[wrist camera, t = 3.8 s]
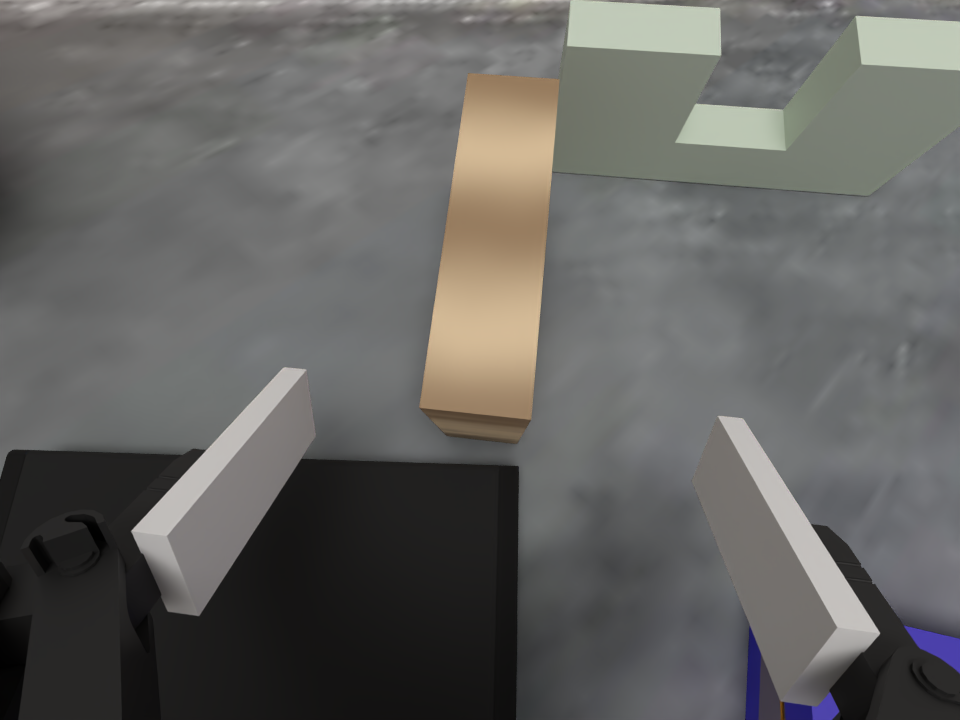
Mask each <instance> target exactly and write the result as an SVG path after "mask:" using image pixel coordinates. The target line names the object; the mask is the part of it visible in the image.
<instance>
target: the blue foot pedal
mask: <svg viewBox="0 0 960 720" xmlns="http://www.w3.org/2000/svg"><path fill="white" fill-rule="evenodd" d="M904 627H905V628H906V630H907V631H908V633H909V634H910V636H911V637H912V638H913V640H914V641H915V643H916V644H917V646H918V647H919V648H920V649H923V650H925V651H927V652H929V653H931V654H933V655H935V656H937V657H939V658H941V659H942V660H943V661H945V662H946V663H947V664H949V665H950V666H952V667H953V668H954V669H956V670H957V671H958V672H959V673H960V639H958V638H954V637H950V636H945V635H941V634H937V633H933V632H929V631H924V630H920V629H916V628H912V627H908V626H904ZM838 712H839V709H838V707H837V705H836V703H835V701H834V699H833V697H832V695H831V693H830V692H829V694H828V695H827V696H826V697H825V698H824V699H823V701H822V702H821V703H820V704H819V705H818V706H817V707H816V706H809V705H802V704H795V703H788V702H782V701H780V699H779V696H778V694H777V692H776V689H775V687H774V684H773V682H772V679H771V677H770V674H769V672H768V669H767V667H766V664H765V662H764V659H763V657H762V654H761V652H760V649H759V647H758V644H757V642H756V639H755V637H754V634H753V632H752V629H751V627H750V626H749V649H748V672H747V695H746V718H745V720H832V719H833V718H834V717H835V716H836V715H837V714H838Z"/></svg>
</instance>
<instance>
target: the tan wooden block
mask: <svg viewBox="0 0 960 720" xmlns="http://www.w3.org/2000/svg"><path fill="white" fill-rule="evenodd" d="M559 81H560V79H548V78H532V77H517V76H502V75H487V74H472V73H468V78H467V85H466V91H465V98H464V105H463V112H462V119H461V126H460V132H459V139H458V146H457V153H456V160H455V167H454V174H453V180H452V187H451V194H450V201H449V208H448V215H447V221H446V228H445V235H444V242H443V249H442V256H441V263H440V269H439V276H438V283H437V290H436V297H435V304H434V310H433V317H432V324H431V331H430V338H429V345H428V352H427V358H426V365H425V372H424V379H423V386H422V393H421V399H420V406H419V408H420V409H421V410H422V411H423V412H424V413H425V414H426V415H427V416H428V417H429V418H430V419H431V420H432V421H433V422H434V423H435V424H436V425H437V426H438V427H439V428H440V429H441V430H442V431H443V432H444V434H445V435H446V436H450V437H459V438H468V439H477V440H486V441H495V442H504V443H513V444H517V443H518V441H519V440H520V438H521V436H522V435H523V433H524V431H525V429H526V428H527V426H528V424H529V422H530V421H531V415H532V403H533V391H534V379H535V367H536V355H537V343H538V331H539V319H540V307H541V296H542V284H543V272H544V260H545V248H546V236H547V224H548V212H549V200H550V188H551V176H552V165H553V153H554V141H555V129H556V117H557V105H558V93H559Z"/></svg>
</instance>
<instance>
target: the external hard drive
mask: <svg viewBox="0 0 960 720" xmlns="http://www.w3.org/2000/svg"><path fill="white" fill-rule="evenodd" d="M180 456H182V455H164V454H133V453H102V452H72V451H41V450H12V451H10V452H9V453H8V455H7V457H6V461H5V464H4V468H3V471H2V475H1V478H0V560H1V562H2V563H3V565H4V566H5V567H7V566H14V565H21V564H28V561H27V560H26V558H25V557H24V555H23V554H22V552H21V550H20V549H21V546H22V544H23V542H24V540H25V539H26V538H27V537H28V536H29V535H30V534H31V533H32V532H33V531H34V530H35V529H36V528H37V527H39V526H40V525H42V524H44V523H45V522H47V521H48V520H50V519H52V518H55V517H57V516H59V515H62V514H64V513H67V512H72V511H77V510H95V511H97V512H99V513H101V514H102V515H103V517H104V519H105V521H106V523H107V525H108V526H109V525H110V524H111V523H112V522H113V521H114V520H115V519H116V518H117V517H118V516H119V515H120V514H121V513H122V512H123V511H124V510H125V509H126V508H127V507H128V506H129V505H130V504H131V503H132V502H133V501H134V500H135V499H136V498H137V497H138V496H139V495H140V494H141V493H142V492H143V491H144V490H147V487H148V486H149V485H150V484H151V483H152V482H153V481H154V480H155V479H156V478H159V475H160V474H161V473H162V472H163V471H164V470H165V469H166V468H167V467H168V466H169V465H170V464H171V463H172V462H173V461H174V460H175V459H177V458H179V457H180ZM518 493H519V466H499V465H470V464H439V463H409V462H378V461H347V460H317V459H301V460H300V461H299V463H298V464H297V466H296V467H295V469H294V471H293V472H292V474H291V475H290V477H289V478H288V480H287V481H286V483H285V484H284V486H283V488H282V489H281V491H280V492H279V494H278V495H277V497H276V498H275V500H274V501H273V503H272V504H271V506H270V508H269V509H268V511H267V512H266V514H265V515H264V517H263V518H262V520H261V521H260V523H259V525H258V526H257V528H256V529H255V531H254V532H253V534H252V535H251V537H250V538H249V540H248V541H247V543H246V545H245V546H244V548H243V549H242V551H241V552H240V554H239V555H238V557H237V558H236V560H235V562H234V563H233V565H232V566H231V568H230V569H229V571H228V572H227V574H226V575H225V577H224V578H223V580H222V582H221V583H220V585H219V586H218V588H217V589H216V591H215V592H214V594H213V595H212V597H211V599H210V600H209V602H208V603H207V605H206V606H205V608H204V609H203V611H202V612H201V614H200V615H199V616H195V615H188V614H181V613H175V612H168V611H167V609H166V607H165V604H164V602H163V600H162V598H161V597H160V598H159V599H158V601H157V602H156V603H155V605H154V606H153V607H152V609H151V610H150V614H151V616H152V618H153V626H154V638H155V650H156V662H157V674H158V686H159V698H160V710H161V720H516V672H517V582H518Z"/></svg>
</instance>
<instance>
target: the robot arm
mask: <svg viewBox="0 0 960 720" xmlns="http://www.w3.org/2000/svg"><path fill="white" fill-rule="evenodd" d="M315 437H316V432H315V425H314V418H313V411H312V404H311V397H310V390H309V383H308V377H307V370H304V369H295V368H286V367H284V368H283V369H282V370H281V371H280V372H279V373H278V374H277V375H276V376H275V377H274V378H273V379H272V380H271V382H270V383H269V384H268V385H267V386H266V387H265V388H264V389H263V390H262V391H261V392H260V393H259V394H258V396H257V397H256V398H255V399H254V400H253V401H252V402H251V403H250V404H249V405H248V406H247V407H246V408H245V409H244V411H243V412H242V413H241V414H240V415H239V416H238V417H237V418H236V419H235V420H234V421H233V422H232V423H231V424H230V426H229V427H228V428H227V429H226V430H225V431H224V432H223V433H222V434H221V435H220V436H219V437H218V438H217V440H216V441H215V442H214V443H213V444H212V445H211V446H210V447H209V448H208V449H207V450H199V449H192V450H190V451H189V452H187V453H185V454H184V455H182V456H180V457H179V458H177V459H175V460H174V461H173V462H172V463H171V464H170V465H169V466H168V467H167V468H166V469H165V470H164V471H163V472H162V473H161V474H160V475H159V478H156V479H155V480H154V481H153V482H152V483H151V484H150V485H149V486H148V487H147V490H144V491H143V492H142V493H141V494H140V495H139V496H138V497H137V498H136V499H135V500H134V501H133V502H132V503H131V504H130V505H129V506H128V507H127V508H126V509H125V510H124V511H123V512H122V513H121V514H120V515H119V516H118V517H117V518H116V519H115V520H114V521H113V522H112V523H111V524H110V525H109V526H108V525H107V523H106V521H105V519H104V517H103V515H102V514H101V513H99V512H97V511H95V510H77V511H72V512H67V513H64V514H62V515H59V516H57V517H55V518H52V519H50V520H48V521H47V522H45V523H44V524H42V525H40V526H39V527H37V528H36V529H35V530H34V531H33V532H32V533H31V534H30V535H29V536H28V537H27V538H26V539H25V540H24V542H23V544H22V546H21V549H20V550H21V552H22V554H23V555H24V557H25V558H26V560H27V561H28V564H21V565H14V566H7V567H5V566H4V565H3V563H2V562H1V560H0V720H161V710H160V698H159V686H158V674H157V662H156V650H155V638H154V626H153V618H152V616H151V614H150V610H151V609H152V607H153V606H154V605H155V603H156V602H157V601H158V599H159V598H160V597H161V598H162V600H163V602H164V604H165V607H166V609H167V611H168V612H175V613H181V614H188V615H195V616H199V615H200V614H201V612H202V611H203V609H204V608H205V606H206V605H207V603H208V602H209V600H210V599H211V597H212V595H213V594H214V592H215V591H216V589H217V588H218V586H219V585H220V583H221V582H222V580H223V578H224V577H225V575H226V574H227V572H228V571H229V569H230V568H231V566H232V565H233V563H234V562H235V560H236V558H237V557H238V555H239V554H240V552H241V551H242V549H243V548H244V546H245V545H246V543H247V541H248V540H249V538H250V537H251V535H252V534H253V532H254V531H255V529H256V528H257V526H258V525H259V523H260V521H261V520H262V518H263V517H264V515H265V514H266V512H267V511H268V509H269V508H270V506H271V504H272V503H273V501H274V500H275V498H276V497H277V495H278V494H279V492H280V491H281V489H282V488H283V486H284V484H285V483H286V481H287V480H288V478H289V477H290V475H291V474H292V472H293V471H294V469H295V467H296V466H297V464H298V463H299V461H300V460H301V458H302V457H303V455H304V454H305V452H306V451H307V449H308V447H309V446H310V444H311V443H312V441H313V440H314V438H315ZM692 483H693V485H694V488H695V490H696V493H697V495H698V498H699V500H700V503H701V505H702V508H703V510H704V513H705V515H706V518H707V520H708V523H709V525H710V528H711V530H712V533H713V535H714V538H715V540H716V543H717V545H718V547H719V550H720V552H721V555H722V557H723V560H724V562H725V565H726V567H727V570H728V572H729V575H730V577H731V580H732V582H733V585H734V587H735V590H736V592H737V595H738V597H739V600H740V602H741V605H742V607H743V610H744V612H745V615H746V617H747V620H748V622H749V624H750V627H751V629H752V632H753V634H754V637H755V639H756V642H757V644H758V647H759V649H760V652H761V654H762V657H763V659H764V662H765V664H766V667H767V669H768V672H769V674H770V677H771V679H772V682H773V684H774V687H775V689H776V692H777V694H778V696H779V699H780V701H782V702H788V703H795V704H802V705H809V706H816V707H817V706H818V705H819V704H820V703H821V702H822V701H823V699H824V698H825V697H826V696H827V695H828V694H829V692H830V693H831V695H832V697H833V699H834V701H835V703H836V705H837V707H838V709H839V712H838V714H837V715H836V716H835V717H834V718H833V719H832V720H960V673H959V672H958V671H957V670H956V669H954V668H953V667H952V666H950V665H949V664H947V663H946V662H945V661H943V660H942V659H941V658H939V657H937V656H935V655H933V654H931V653H929V652H927V651H925V650H923V649H920V648H919V647H918V646H917V644H916V643H915V641H914V640H913V638H912V637H911V636H910V634H909V633H908V631H907V630H906V628H905V627H904V625H903V624H902V623H901V621H900V620H899V618H898V617H897V615H896V614H895V612H894V611H893V610H892V608H891V607H890V605H889V604H888V602H887V601H886V599H885V598H884V597H883V595H882V594H881V592H880V591H879V589H878V588H877V587H876V585H875V584H872V579H871V578H870V576H869V575H868V574H867V572H866V571H865V569H864V568H861V563H860V562H859V561H858V559H857V558H856V556H855V555H854V553H853V552H852V550H851V549H850V548H849V546H848V545H847V544H846V543H845V542H844V541H843V540H842V539H841V538H840V537H839V536H837V535H836V534H835V533H834V532H833V531H832V530H831V529H830V528H828V527H827V526H821V525H813V524H810V523H809V521H808V519H807V518H806V516H805V515H804V513H803V512H802V510H801V508H800V507H799V505H798V504H797V502H796V501H795V499H794V498H793V496H792V494H791V493H790V491H789V490H788V488H787V487H786V485H785V483H784V482H783V480H782V479H781V477H780V476H779V474H778V473H777V471H776V469H775V468H774V466H773V465H772V463H771V462H770V460H769V458H768V457H767V455H766V454H765V452H764V451H763V449H762V447H761V446H760V444H759V443H758V441H757V440H756V438H755V437H754V435H753V433H752V432H751V430H750V429H749V427H748V426H747V424H746V422H745V421H744V419H743V418H734V417H725V416H717V419H716V421H715V424H714V426H713V429H712V431H711V434H710V436H709V439H708V441H707V444H706V446H705V449H704V451H703V454H702V456H701V459H700V462H699V464H698V467H697V469H696V472H695V474H694V477H693V479H692Z"/></svg>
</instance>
